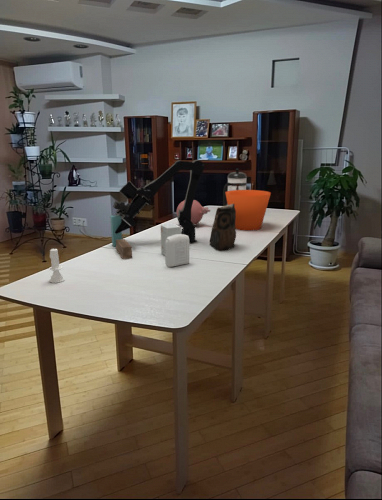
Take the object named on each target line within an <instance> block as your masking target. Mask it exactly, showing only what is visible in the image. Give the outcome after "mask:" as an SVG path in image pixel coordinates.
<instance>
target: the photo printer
mask: <svg viewBox="0 0 382 500" xmlns="http://www.w3.org/2000/svg"><path fill="white" fill-rule="evenodd" d="M164 259H165V266H166V267H168V268H170V267H177V266H182V265H186V264H189V263H190V243H189V237H188V236H187V235H184V234H176V235H172V236H170V237H168V238H166V240H165V255H164Z"/></svg>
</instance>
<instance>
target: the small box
mask: <svg viewBox="0 0 382 500" xmlns="http://www.w3.org/2000/svg"><path fill="white" fill-rule="evenodd" d="M181 231H182V227H181V226H180V225H179V224H178V225H177V224H175V223H166V224H160V251H161V252H160V253H161V254H162V255H163V256H165V240H166V238H168V237H170V236H172V235H176V234H181Z"/></svg>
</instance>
